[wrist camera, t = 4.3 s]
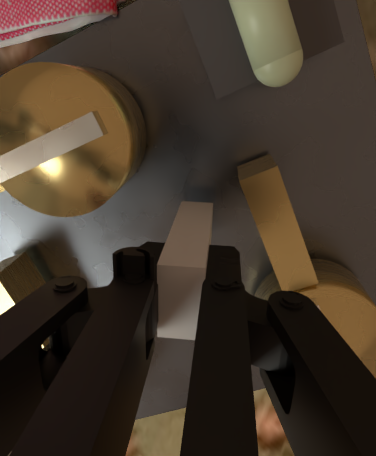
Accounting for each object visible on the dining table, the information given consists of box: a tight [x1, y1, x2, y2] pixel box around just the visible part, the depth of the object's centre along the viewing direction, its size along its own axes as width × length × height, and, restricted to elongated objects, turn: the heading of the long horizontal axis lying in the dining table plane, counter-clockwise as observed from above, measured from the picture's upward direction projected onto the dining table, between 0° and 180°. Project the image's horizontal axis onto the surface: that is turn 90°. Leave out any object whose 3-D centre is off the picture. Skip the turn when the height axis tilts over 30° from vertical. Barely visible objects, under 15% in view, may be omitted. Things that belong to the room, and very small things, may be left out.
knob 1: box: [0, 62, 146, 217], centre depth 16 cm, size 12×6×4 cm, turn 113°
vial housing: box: [179, 0, 344, 99], centre depth 13 cm, size 5×5×4 cm
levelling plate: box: [0, 0, 376, 420], centre depth 21 cm, size 22×26×2 cm
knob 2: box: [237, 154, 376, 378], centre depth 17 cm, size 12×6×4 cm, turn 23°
